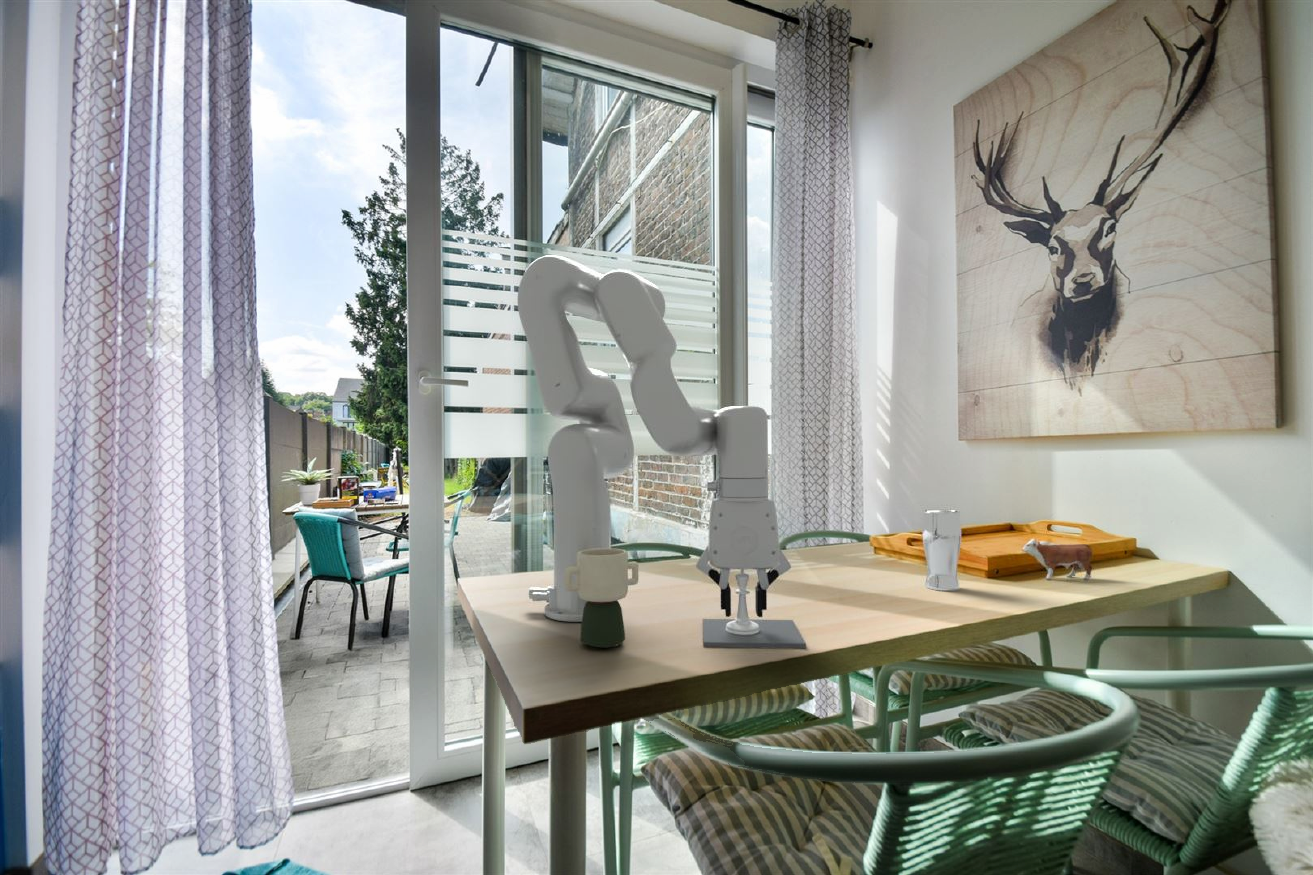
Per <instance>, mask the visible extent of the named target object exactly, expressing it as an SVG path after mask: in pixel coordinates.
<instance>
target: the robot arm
mask: <svg viewBox="0 0 1313 875" xmlns="http://www.w3.org/2000/svg"><path fill="white" fill-rule="evenodd" d="M517 310H518V315H519V318H520V323H521V325H522V330H523V332H524V335H525V337H526V341H527V344H528V348H529V351H530V356H531V360H532V366H533V368H534V373H535V376H536V380H537V385H538V388H539V391H540V396H541V401H542V404H543V406H544V407H545V410H546V411H547V413H549V415H551V416H553V417H555V418H557V419H563V420H570V421H578V422H579V423H573V424H569V425H565V426H564V427H561V429H559V430H557V432H555V434H554V435H553V436H552V438H551V439H550V441H549V445H548V446H547V447H548V448H547V463H548V469H549V473H550V474H549V476H550V479H551V488H552V498H553V499H552V500H553V502H552V503H553V507H552V508H553V584H552V585H549V586H548V587H543V588H542V587H530V588H529V591H528V597H529V599H530V600H532V601H534V602H541V601H544V602H546V603H547V604H546V605H545V606H544V608H543V610H544V615H545V616H546V617H547V618H549V619H551V620H555V621H561V622H570V623H571V622H572V623H582V617H583V610H584V606H585V604H586V603H587V602H588V601H586V600H583V599H581V598H580V597H579V594H578V592H577V591H566V590H565V569H566V568H568V567H575V566H577V552H579V551H582V550H586V549H594V548H612V546H611V545H612V543H611V539H612V537H611V536H612V534H611V533H612V532H611V531H612V529H611V527H612V525H611V524H612V523H611V522H612V521H611V520H612V519H611V500H610V494H609V490H608V488H607V484H606V481H605V480H608V479H613V478H618V477H620V476H622V475H624V474H625V473H627V471H628V470H629V468H630V467H631V466H632V463H633V460H634V456H635V447H634V440H633V436H632V432H631V428H630V424H629V421H628V417H627V415H626V414H627V413H626V411H625V407H624V402H623V400H622V396H621V393H620V390H619V388H618V386H617V384H616V382H614V380H613V379H612V377H611V376H609V375H608V374H607V373H606V372H603V371H601V370H598V369H594V368H591V367H588V365H587V364H586V362H585V359H584V357H583V354H582V350H581V345H580V341H579V339H578V336H577V334H576V331H575V330H574V327H573V325H572V323H571V322H570V321H569V319H568V317H567V315H566V313H570V314H571V315H575V316H577V317H581V318H584V319H587V320H591V321H596V322H598V323H599V322H600V323H604V324H605V325H606V327H607V329H608V330H609V332H610V334H611V335H612V338H613V339H614V341H615V343H616V345H617V347H618V348H619V350H620V353H621V355H622V356H623V359H624V360H625V362H626V364H627V366H628V368H629V376H628V377H629V385H630V392H631V397H632V400H633V403H634V405H635V408H636V410H637V412H638V414H639V416H640V418H641V420H642V422H643V424H644V427H646V428H645V429H646V430H647V431H648V433H649V435H650V436H651V438H652V440H653V441H654V442H655V444H656V445H657V446H658V447H659V448H660V449H661V450H662V451H664V452H665V453H667V454H669V455H671V456H677V457H690V456H691V457H703V456H704V457H705V456H711V455H716V479H715V480H714V481H711V482H709V481H708V482H706V484H707V487H706V488H707V492H712V493H714V494H716V498H713V499H712V500H711V505H710V510H709V511H710V513H709V521H708V543H707V546H706V547H705V549H704V550H703V553H702V554H701V556H700V557H699V558H698V560H697V561H696V563H695V567H696V569H698V571H700V572H702V573H703V574H704V575H706V576H708V577H709V578H710V579H711V580H712V581H713V582H714V583H715V584H716V585H717V586H718V587H719V589H720V610H724V613H725V617H726V618H729V617H731V616H732V590H731V586H730V582H729V577H730V573H731V570H741V569H748V570H756V575H757V579H758V581H757V582H756V586H755V588H754V590H755V591H754V592H755V614H756V616H757V617H758V618H763V611H767V608H768V607H767V606H768V604H767V601H768V600H767V597H768V596H767V595H768V594H767V593H768V589H769V587H770V586H771V585H772V584H773V582H775V581H776V580H777V579H778V578H779V577H780V576H782V575H783V574H785V573H787V572H788V571H789V570H791V568H792V565H791V563H790V562H789V560H788V559H787V557H786V555H785V554H784V553H783V551H782V550H781V548H780V540H779V527H778V517H777V516H778V515H777V509H776V504H775V500H774V499H772V498H769V477H768V476H769V443H768V442H769V437H768V435H769V434H768V426H769V425H768V414H767V411H766V410H765V409H764V408H762V407H760V406H753V405H739V406H738V405H736V406H735V405H733V406H726V407H725V406H724V407H723V408H721V409H712V408H706V407H705V408H704V407H700V406H694V405H690V404H689V402H688V400H687V399H686V397H685V395H684V393H683V391H682V389H681V387H680V386H679V383H678V382H677V380H676V378H675V376H674V372H673V370H672V365H671V360H672V357H674V355H675V354H676V351H677V347H678V346H677V342H676V339H675V337H674V336H673V334H672V332H671V330H670V329H669V327H668V325H667V323H666V322H665V320H664V316H665V314H666V313H665V312H666V301H665V297H664V295H663V293H662V291H661V290H660V288H658V286H657V285H655V284H654V283H652V282H650V281H649V280H647V279H645V278H643V277H641V276H639V275H637V274H636V273H633V272H631V271H630V270H629V271H628V270H624V269H617V270H611V271H609V272H607V273H605V274H602V273H599V272H597V271H595V270H593V269H590V267H589V268H588V267H587V266H584V265H582V264H581V263H578V262H576V261H574V260H571V259H569V258H567V257H565V256H560V255H544V256H540V257H538V258H537V259H535V260H534V261H533V262H531V263H530V264H529V266H528V267H526V270H525V271H524V273H523V275H522V277H521V279H520V283H519V287H518V291H517ZM708 562H709V564H708ZM717 569H719V570H720V571H718V570H717ZM767 570H768V571H767ZM571 583H572V584H577V573H576V574H572V575H571Z"/></svg>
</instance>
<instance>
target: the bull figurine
mask: <svg viewBox="0 0 1313 875" xmlns="http://www.w3.org/2000/svg"><path fill="white" fill-rule="evenodd" d="M1021 552H1022V553H1026V554H1027V553H1028V554H1029V555H1030V556H1032V557H1034V558H1035V559H1036V560H1037V562H1038V563H1040V564H1041V565H1042V566H1043V567H1045V569H1046V570H1047V575H1045V580H1046V581H1050V580H1052V579H1053V577H1054V575H1053V573H1054V571H1055V569H1056V566H1063V567H1065V569H1066V570H1069V568H1070V567H1071V566H1072V569H1071V571H1070V572H1069V574H1067V575H1066V578H1073V577H1075V576H1076V572H1077V571H1079V573H1082V571H1084V569H1085V576H1084V578H1083V580H1084V581H1089V580H1090V579H1092V575H1091V574H1092V570H1093V567H1092V564H1091V560H1092V557H1093V551H1092V547H1091V546H1090V545H1088V544H1086V543H1081V544H1061V543H1060V544H1058V543H1053V542H1049V541H1045V540H1041V541H1037V539H1035V538H1031V539H1030V540H1029V541H1028V542H1026V543H1025V545H1024V546H1023V548H1021Z"/></svg>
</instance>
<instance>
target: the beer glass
mask: <svg viewBox="0 0 1313 875" xmlns="http://www.w3.org/2000/svg"><path fill="white" fill-rule="evenodd" d="M922 513H923V514H922V523H921V524H922V526H921V527H922V528H921V534H922V542H923V550H924V554H925V555H924V556H925V560H926V566H927V571H926V572H927V573H926V578H925V588H927V589H929V590H933V591H939V592H940V591H942V592H957V591H959V590H960V589H961V588H960V583H959V578H958V564H959V556H960V551H961V544H962V522H961V515H960V511H959V510H954V509H953V510H952V509H923V510H922Z"/></svg>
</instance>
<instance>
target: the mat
mask: <svg viewBox="0 0 1313 875" xmlns="http://www.w3.org/2000/svg"><path fill="white" fill-rule="evenodd" d="M734 620H735V618H702V646H703V647H708V648H709V647H710V648H711V647H713V648H714V647H715V648H716V647H717V648H764V647H778V649H779V648H780V649H782V648H783V649H807V643H806V642H805V640H804V638H803V635H802V634H801V633H800V630H799V629H798V627H797V625H796V624H795V622H794V620H793V619H755V618H754V619H751V618H750V620H749V621H752V622H755V623H757V624H758V625H759V630H760V631H759V632H758V633H756V634H751V635H738V634H732V633H729V632H727V631H726V625H727V623H729V622H731V621H734ZM781 647H782V648H781Z"/></svg>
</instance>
